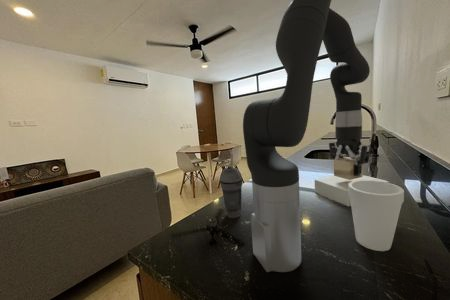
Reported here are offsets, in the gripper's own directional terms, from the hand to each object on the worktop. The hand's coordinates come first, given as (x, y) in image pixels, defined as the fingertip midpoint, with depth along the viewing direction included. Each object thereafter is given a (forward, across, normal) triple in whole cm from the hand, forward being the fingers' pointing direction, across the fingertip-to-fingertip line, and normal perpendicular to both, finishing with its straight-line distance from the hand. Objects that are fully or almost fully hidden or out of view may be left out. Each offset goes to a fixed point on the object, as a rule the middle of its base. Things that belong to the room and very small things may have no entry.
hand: (347, 173), depth 67 cm
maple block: (+1, 0, 0) cm, 1 cm away
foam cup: (+8, +21, -18) cm, 28 cm away
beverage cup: (+8, -6, -41) cm, 42 cm away
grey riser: (+8, -1, +2) cm, 9 cm away
